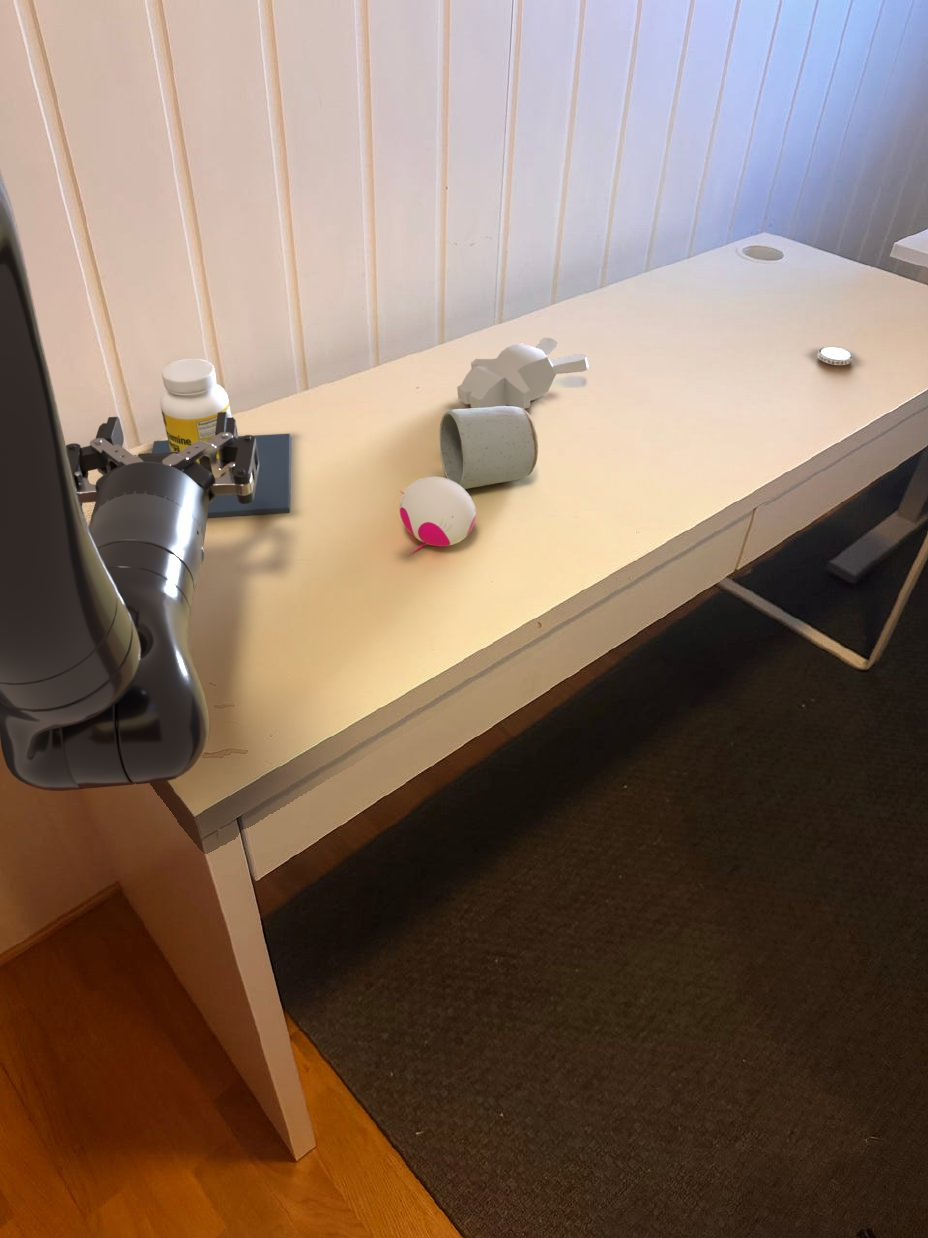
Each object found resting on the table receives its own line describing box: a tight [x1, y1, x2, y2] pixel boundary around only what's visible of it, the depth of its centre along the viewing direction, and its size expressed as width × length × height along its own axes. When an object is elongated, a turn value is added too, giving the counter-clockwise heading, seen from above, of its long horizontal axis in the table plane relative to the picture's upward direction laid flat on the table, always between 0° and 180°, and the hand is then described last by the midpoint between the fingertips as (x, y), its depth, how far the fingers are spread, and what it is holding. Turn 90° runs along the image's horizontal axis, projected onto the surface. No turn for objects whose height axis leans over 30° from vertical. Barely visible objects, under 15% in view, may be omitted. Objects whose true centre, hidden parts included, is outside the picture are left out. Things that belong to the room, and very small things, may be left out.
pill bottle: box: [159, 358, 232, 477], centre depth 85 cm, size 6×6×11 cm
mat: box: [151, 433, 292, 519], centre depth 89 cm, size 14×14×1 cm
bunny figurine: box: [456, 337, 590, 410], centre depth 102 cm, size 10×5×15 cm
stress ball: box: [399, 475, 477, 555], centre depth 80 cm, size 8×8×7 cm
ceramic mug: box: [438, 405, 539, 490], centre depth 88 cm, size 11×8×8 cm
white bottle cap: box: [817, 346, 853, 366], centre depth 111 cm, size 4×4×1 cm
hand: (170, 424), depth 73 cm, fingers open, 8 cm apart
